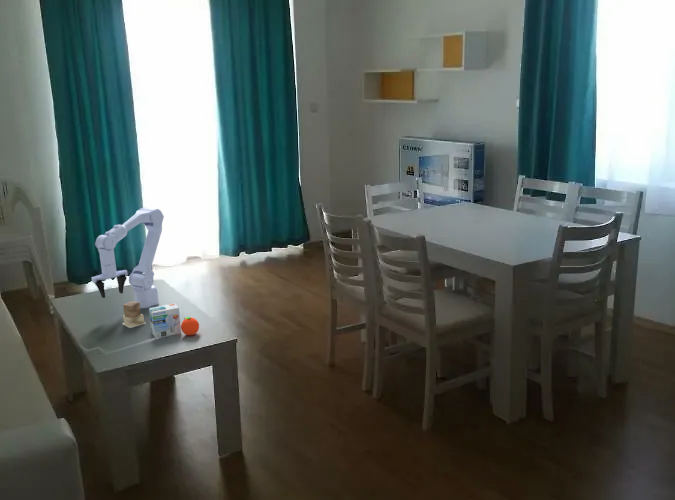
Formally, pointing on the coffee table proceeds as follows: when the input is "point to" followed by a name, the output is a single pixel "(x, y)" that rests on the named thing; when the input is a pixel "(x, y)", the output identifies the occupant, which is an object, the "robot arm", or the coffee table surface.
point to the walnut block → (132, 309)
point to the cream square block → (133, 320)
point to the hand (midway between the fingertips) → (112, 295)
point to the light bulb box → (165, 320)
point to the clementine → (190, 326)
